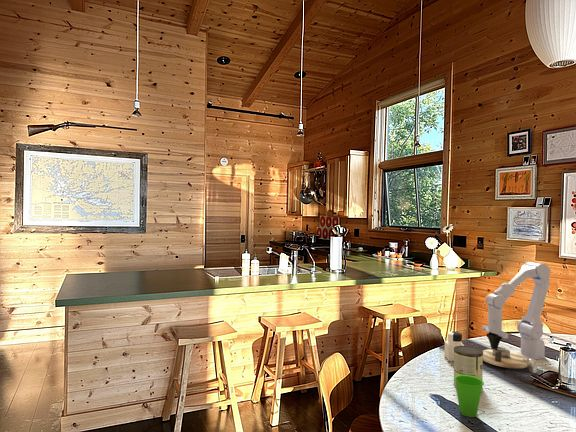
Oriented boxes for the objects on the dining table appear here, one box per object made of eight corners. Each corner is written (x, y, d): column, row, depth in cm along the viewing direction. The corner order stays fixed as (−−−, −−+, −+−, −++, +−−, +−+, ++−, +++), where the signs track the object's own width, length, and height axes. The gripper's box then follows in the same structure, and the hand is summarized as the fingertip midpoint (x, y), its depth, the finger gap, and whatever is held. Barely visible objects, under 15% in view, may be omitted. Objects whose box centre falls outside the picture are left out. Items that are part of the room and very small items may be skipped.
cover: (495, 351, 190) (495, 344, 190) (512, 355, 185) (512, 348, 185) (490, 354, 185) (490, 347, 185) (506, 358, 180) (507, 351, 180)
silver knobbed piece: (524, 366, 178) (524, 354, 178) (538, 373, 171) (538, 359, 171) (518, 367, 178) (519, 354, 178) (532, 373, 170) (532, 360, 170)
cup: (448, 407, 139) (449, 374, 139) (474, 406, 140) (474, 374, 140) (462, 420, 130) (462, 385, 130) (489, 419, 131) (489, 385, 131)
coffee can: (452, 379, 163) (453, 344, 163) (480, 383, 160) (481, 347, 160) (453, 389, 154) (454, 352, 154) (484, 394, 150) (484, 355, 150)
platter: (489, 349, 197) (489, 338, 197) (536, 360, 182) (536, 348, 182) (472, 359, 183) (472, 347, 183) (522, 372, 169) (522, 358, 169)
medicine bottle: (460, 356, 190) (460, 330, 190) (465, 361, 183) (465, 335, 183) (444, 355, 191) (444, 330, 191) (448, 361, 184) (449, 334, 184)
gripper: (476, 316, 195) (476, 345, 195) (498, 324, 181) (498, 355, 181) (489, 316, 197) (488, 344, 197) (512, 324, 183) (511, 354, 183)
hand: (494, 349), depth 189 cm, fingers closed
